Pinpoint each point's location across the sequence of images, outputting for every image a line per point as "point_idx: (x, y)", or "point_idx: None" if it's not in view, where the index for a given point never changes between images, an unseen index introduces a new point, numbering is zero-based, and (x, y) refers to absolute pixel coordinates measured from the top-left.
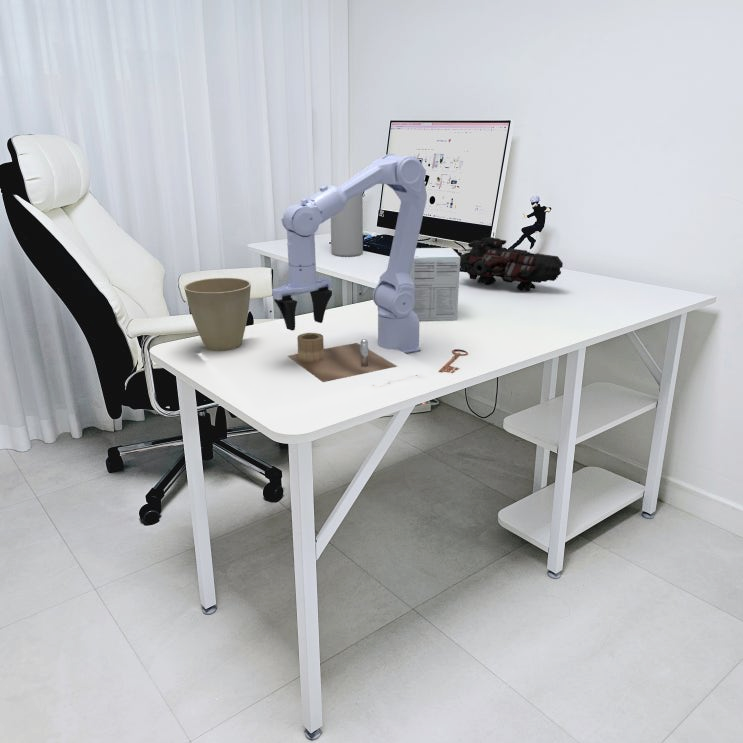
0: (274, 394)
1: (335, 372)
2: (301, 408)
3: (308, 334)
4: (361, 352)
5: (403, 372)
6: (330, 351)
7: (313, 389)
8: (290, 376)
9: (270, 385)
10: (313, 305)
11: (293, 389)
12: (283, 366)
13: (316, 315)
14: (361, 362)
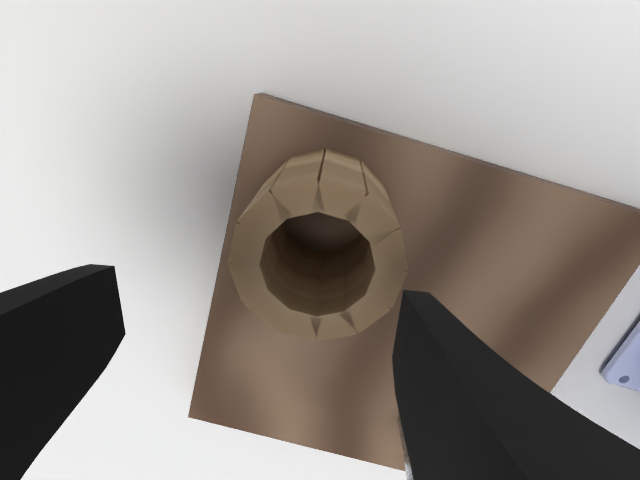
0: None
1: (281, 393)
2: (66, 437)
3: (346, 218)
4: (407, 471)
5: None
6: (462, 216)
7: (169, 379)
8: (168, 243)
9: (57, 256)
10: (452, 382)
11: None
12: (210, 127)
13: (410, 352)
14: (399, 431)
